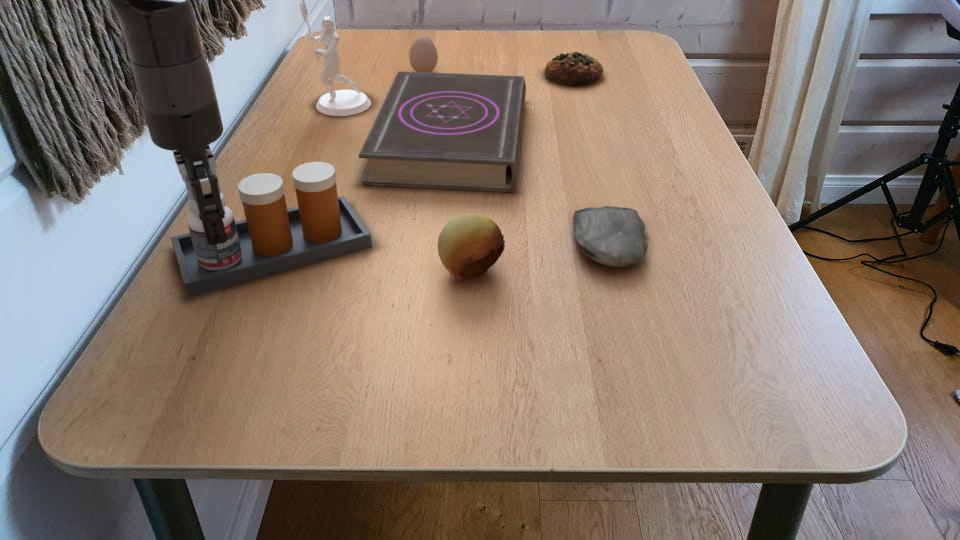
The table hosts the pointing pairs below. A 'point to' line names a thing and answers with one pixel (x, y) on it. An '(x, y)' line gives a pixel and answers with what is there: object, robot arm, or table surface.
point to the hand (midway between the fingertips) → (212, 229)
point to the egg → (423, 54)
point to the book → (447, 132)
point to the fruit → (470, 245)
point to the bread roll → (574, 69)
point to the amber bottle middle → (266, 214)
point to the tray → (260, 266)
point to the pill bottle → (220, 253)
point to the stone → (610, 235)
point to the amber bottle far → (317, 201)
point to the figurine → (334, 74)
